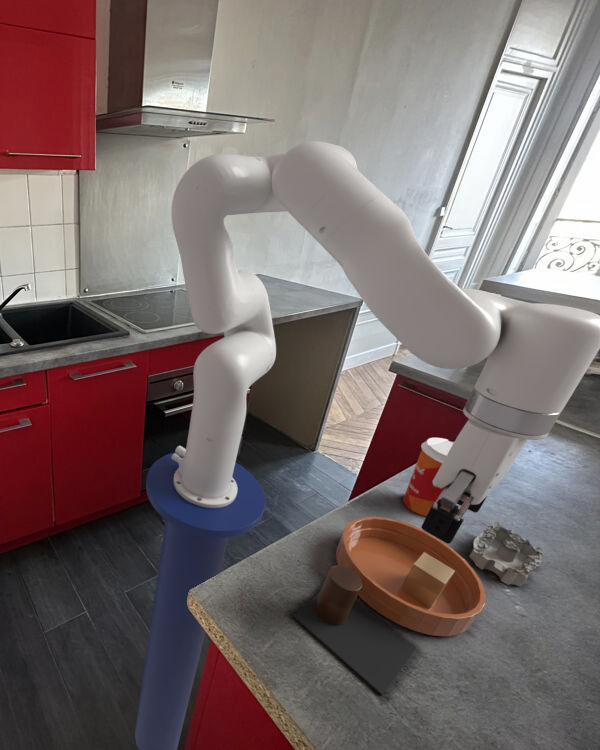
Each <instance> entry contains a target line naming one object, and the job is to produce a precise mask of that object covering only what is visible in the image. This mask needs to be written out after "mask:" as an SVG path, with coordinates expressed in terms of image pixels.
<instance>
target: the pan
mask: <svg viewBox="0 0 600 750" xmlns="http://www.w3.org/2000/svg"><path fill="white" fill-rule="evenodd" d="M335 551H336V552H335V553H336V554H335V559H336V563H337V565H340V566H344V567H347V568H349V569H351V570H352V571H354V572H355V573H356V574H357V575H358V576H359V578H360V579H361V582H362V587H361V589H360V592H359V594H358V596H357V597H359V598H360V599H362V601H363V602H364V603H365V604H367V605H368V606H369V607H370V608H372V609H373V610H374V611H376V612H377V613H379V614H380V615H381V616H383V617H384V618H386V619H388V620H389V621H391V622H393V623H395V624H398V625H399V626H401V627H403V628H406V629H407V630H408V629H409V630H412V631H414V632H417V633H421V634H424V635H428V636H434V637H435V636H436V637H452V636H458V635H461V634H463V633H464V632H466V631H467V630H469V629H470V627H471V626H472V624H473V623H474V621H475V620H476V619H477V617H478V616H479V615H480V613H481V612H482V610H483V608H484V607H485V605H486V596H487V595H486V591H485V588H484V584H483V582H482V580H481V578H480V577H479V575H478V574H477V572H476V570H475V569H474V568H473V567H472V566H471V565H470V563H469V562H468V561H467V560H466V559H465V558H464V557H462V556H461V554H459V553H458V552H457V551H456V550H455V549H454V548H452V547H451V546H450V545H448V544H447V543H445V542H443V541H442V540H440V539H438V538H436V537H435V536H433V535H431V534H429V533H428V532H426V531H424V530H423V529H422V528H419V527H417V526H415V525H413V524H410V523H406V522H404V521H400V520H397V519H393V518H389V517H384V516H361V517H359V518H356V519H353V520H352V521H350V522H349V523H348V524H347V525H346V526H345V528H344V530H343V532H342V535H341V537H340V539H339V542H338V544H337V547H336V549H335ZM424 552H425V553H427V554H428V555H430V556H432V557H433V558H435V559H437V560H438V561H440V562H442V563H443V564H445V565H447V566H448V567H450V568H451V569H453V570H455V572H454V574H453V575H452V577H451V579H450V580H449V582H448V583H447V585H446V587H445V588H444V590H443V592H442V593H441V595H440V596H439V597H438V599H437V600H436V601H435V603H434V604H433V605H432V607H431V608H428V607H427V606H425V605H424V604H422V603H421V602H419V601H418V600H417V599H415V598H414V597H412V596H411V595H409V594H408V593H406V592H405V591H403V590H402V589H401V586H402V584H403V582H404V580H405V579H406V577H407V575H408V573H409V571H410V569H411V568H412V566H413V564H414V563H415V562H416V561H417V559H418V558H419V557H420V556H421V555H422V554H423V553H424Z"/></svg>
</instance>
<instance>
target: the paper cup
mask: <svg viewBox="0 0 600 750" xmlns="http://www.w3.org/2000/svg"><path fill="white" fill-rule="evenodd" d="M454 442H455V441H450V440H449V439H447V438H443V437H429V438H428V439H426V440H425V441H424V442H422V443H421V445H420V448H421V450H420V453H419V456H418V459H417V462H416V464H415V467H414V469H413V471H412V474H411V477H410V480H409V482H408V484H407V485H408V486H407V488H406V491H405V493H404V496H403V504H404V505H405V506H406V507H407V508H408V509H409V510H410V511H412V512H413V513H416V514H418V515H421V516H424V517H426V516H427V514H428V512H429V510H430V508H431V506H432V505H433V504H434V503H435V502H436V500H437V499H438V497H439V496H440V494H441V493H442V491H443V490H444V488H445V487H446V486H445V487H443V488H442V489H441V488H439V487H435V486H434V485H433V482H432V481H433V480H434V478H435V476H436V474H437V472H438V471H439V469H440V467H441V465H442V463H443V462H444V460H445V458H446V456H447V454H448V452H449V451H450V449H451V447H452V445H453V443H454Z"/></svg>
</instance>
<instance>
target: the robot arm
mask: <svg viewBox="0 0 600 750" xmlns="http://www.w3.org/2000/svg"><path fill="white" fill-rule="evenodd" d="M170 210H171V211H170V215H171V216H170V217H171V224H172V230H173V234H174V238H175V242H176V245H177V249H178V252H179V257H180V261H181V268H182V275H183V279H184V284H185V290H186V294H187V300H188V305H189V310H190V314H191V315H190V316H191V318H192V320H193V324H194V325H195V326H196V327H197V329H198V330H200V331H201V332H203V333H205V334H207V335H217V334H223V336H224V337H222V338H221V339H218V340H216V341H215V342H213V343H211V344H210V345H208V346H206V347H205V348H204V349H203V350H202V351H201V353H200V354H199V355H198V356H197V358H196V360H195V362H194V365H193V372H192V373H193V377H192V378H193V398H192V399H193V400H192V408H191V413H190V414H191V415H190V421H189V426H188V427H189V428H188V435H187V441H186V447H183V446H181V445H178V446H177V447H176V448H175V451H174V453H175V454H173V455H172V459H173V460H174V461H176V462H178V463H179V468H178V469H177V470H176V472H175V474H174V479H173V481H174V487H175V489H176V491H177V492H178V493H179V494H180V495H181V496H182V497H183V498H184V499H185V500H187V501H189V502H190V503H193V504H195V505H198V506H201V507H206V508H221V507H224V506H227V505H229V504H231V503H232V502H233V501H234V500H235V498H236V495H237V490H238V488H237V484H236V482H235V480H234V479H233V477H232V475H233V471H234V466H235V462H236V463H237V457H238V453H239V448H240V443H241V440H242V436H243V435H242V434H243V431H244V426H245V422H246V418H247V417H246V416H247V409H248V408H247V394H248V391H249V388H250V387H251V386H252V385H253V384H254V383H256V381H258V380H259V379H260V378H261V377H263V376H264V375H265V374H267V373H268V372H269V371H270V370H271V369H272V367H273V366H274V364H275V361H276V359H277V358H276V357H277V344H276V343H277V342H276V337H275V330H274V324H273V318H272V312H271V306H270V300H269V299H270V298H269V295H268V292H267V289H266V286H265V285H264V283H263V281H262V280H261V279H260V278H259V277H258V276H257V275H255V274H254V273H252V272H251V271H248V270H243V269H242V270H241V269H238V267H237V263H236V255H235V248H234V245H233V242H232V239H231V236H230V234H229V232H228V230H227V229H226V226H225V218H226V217H227V216H235V215H247V214H248V215H249V214H260V213H281V212H283V213H284V212H287V213H288V214H290V216H291V217H292V218H293V219H294V220H295V221H296V222H297V223H299V225H300V226H302V228H303V229H305V230H306V232H307V233H308V234H309V235H310V236H311V237H312V238H313V239H315V241H316V242H317V243H318V244H319V245H320V246H321V247H322V248H323V249H324V250H325V251H326V252H327V253H328V255H330V256H331V257H332V258H333V259H334V260H335V261H336V262H337V263H338V264H339V266H340V267H341V268H342V271H343V272H344V275H345V277H346V278H347V279H348V280H349V283H351V285H352V286H353V288H354V289H355V291H356V292H357V294H358V295H359V297H360V298H361V300H362V301H363V303H364V304H365V305H366V307H367V308H368V309H369V311H370V312H371V313H372V314H373V315H374V317H375V318H376V319H377V320H378V321H379V322H380V323H381V324H382V325H383V326H384V327H385V328H386V330H388V331H389V333H390V334H392V335H393V336H394V338H395V339H397V341H398V342H399V343H401V345H402V346H404V347H405V348H406V350H408V351H409V353H411V354H412V355H413V356H415V357H416V358H417V359H418V360H420V361H422V362H424V363H426V364H427V365H430V366H433V367H435V368H438V369H439V368H440V369H445V370H458V369H465V368H469V367H472V366H474V365H477V364H479V363H480V362H482V361H484V360H485V359H486V360H485V364H484V365H483V367H482V370H481V372H480V375H479V376H478V378H477V380H476V382H475V385H474V386H473V388H472V390H471V392H470V394H469V397H468V398H467V400H466V403H465V405H464V407H463V409H462V412H463V415H464V416H465V417H466V418H467V419H468V420H467V421H466V423H465V424H464V426H462V428H461V430H460V432H458V435H457V436H456V439H455V440H454V441H453V442H454V443H453V445H452V447H451V449H450V451H449V452H448V454H447V456H446V458H445V460H444V462H443V463H442V465H441V467H440V469H439V471H438V472H437V474H436V476H435V478H434V480H433V481H432V482H433V485H434V486H435V487H439V488H441V489H442V488H443V487H445V486H446V487H445V488H444V490H443V491H442V493H441V494H440V496H439V497H438V499H437V500H436V502H435V503H434V504H433V505H432V506H431V508H430V510H429V512H428V514H427V516H425V519H424V520H423V522H422V524H421V530H424V531H425V532H427V533H429V534H431V535H433V536H434V537H436V538H438V539H439V540H441V541H442V542H444V543H445V544H447V545H448V544H451V543H452V542H453V540H454V539H455V537H456V535H457V533H458V531H459V529H460V528H461V526H462V525H463V523H464V520H465V519H464V518H463V517H464V515H465V513H466V512H467V510H469V511H470V512H473V513H478V512H479V511H480V510H481V508H482V506H483V505H484V503H485V502H486V499H487V497H488V496H489V495H490V493H492V491H494V489H495V488H496V487H497V486H498V485H499V484H500V482H501V481H502V480H503V478H504V477H505V476H506V475H507V473H508V472H509V471H510V470H511V467H512V466H513V465H514V463H515V461H516V459H518V457H519V455H520V453H521V452H522V450H523V448H524V447H525V445H526V443H527V442H528V440H529V441H539V440H543V439H546V438H547V437H548V435H549V434H550V432H551V430H552V428H553V427H554V425H555V424H556V422H557V420H558V419H559V417H560V415H561V414H562V413H563V410H564V408H565V407H566V405H567V403H568V402H569V400H570V398H571V397H572V395H573V394H574V392H575V390H576V388H577V387H578V385H579V384H580V382H581V380H582V379H583V377H584V375H585V374H586V372H587V370H588V369H589V367H590V366H591V364H592V362H593V360H594V359H595V357H596V355H597V354H598V353H599V351H600V315H599V314H597V313H595V312H592V311H590V310H585V309H582V308H576V307H572V306H568V305H567V306H566V305H560V304H552V303H544V302H543V303H540V302H539V303H537V302H533V303H532V302H527V301H522V300H519V299H515V298H511V297H506V296H503V295H500V294H495V293H492V292H489V291H485V290H481V289H476V288H465V287H464V288H462V287H461V288H460V287H459V286H458V285H457V284H456V283H455V282H454V281H452V279H450V278H449V276H447V275H446V274H445V273H444V272H443V271H442V269H440V267H439V266H438V265H436V263H435V262H434V261H433V260H432V259H431V257H430V256H429V255H428V254H427V253H426V251H425V250H424V248H423V247H422V246H421V244H420V242H419V240H418V239H417V237H416V234H415V230H414V228H413V225H412V223H411V220H410V219H409V218H408V216H407V215H406V213H405V212H404V211H403V209H401V208H400V207H399V206H398V205H397V204H396V203H394V202H393V201H392V200H391V199H390V198H389V197H388V196H387V195H386V194H384V193H383V192H382V191H381V189H379V188H378V187H377V186H376V185H375V184H374V183H372V182H371V181H370V180H369V179H368V178H367V177H366V176H364V175H363V174H362V172H360V170H359V169H358V165H357V162H356V158H355V157H354V155H353V154H352V153H351V152H350V150H348V149H347V148H345V147H343V146H341V145H337V144H333V143H331V142H327V141H321V140H310V141H305V142H302V143H299V144H297V145H295V146H294V147H292V148H291V149H289V150H288V151H287V152H285V153H279V154H271V155H263V156H251V155H242V154H236V153H214V154H211V155H207V156H205V157H203V158H201V159H199V160H198V161H195V163H194V164H192V165H191V166H190V167H189V168H188V169H187V170H186V172H184V174H183V176H182V177H181V178H180V180H179V182H178V184H177V186H176V188H175V190H174V193H173V196H172V202H171V209H170ZM176 453H177V454H178V455H179V456H178V455H177V454H176ZM180 456H181V457H183V458H180ZM459 506H460V507H459Z"/></svg>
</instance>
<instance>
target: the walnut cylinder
mask: <svg viewBox="0 0 600 750" xmlns="http://www.w3.org/2000/svg"><path fill="white" fill-rule="evenodd" d="M361 587H362V582H361V579H360V578H359V576H358V575H357V574H356V573H355V572H354V571H352V570H351V569H349V568H347V567H344V566H340V565H338V564H337V565H332V566H331V567H330V568H329V571H328V573H327V575H326V577H325V579H324V582H323V585H322V587H321V589H320V590H321V592H320V594H319V596H318V599H317V601H316V604H315V609H316V612H317V614H318V615H319V616H320V617H321V618H322V619H323V620H324V621H325V622H327V623H329V624H331V625H334V626H340V625H343V624H344V623H345V621H346V619H347V617H348V614H349V612H350V610H351V608H352V606H353V604H354V602H355V601H356V600H357V598H358V597H359V596H358V594H359V592H360V589H361Z"/></svg>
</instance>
